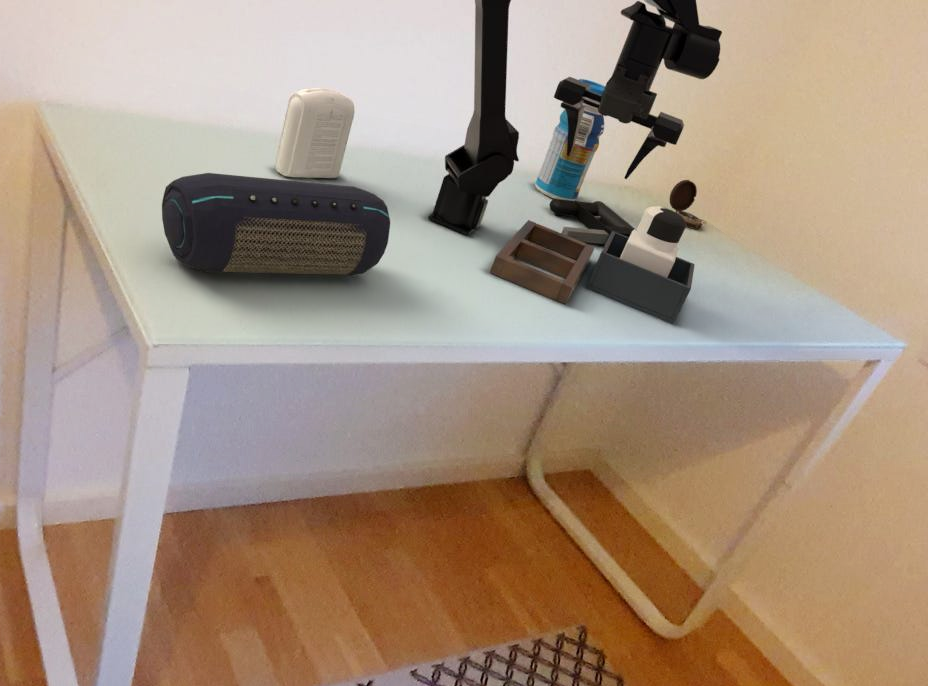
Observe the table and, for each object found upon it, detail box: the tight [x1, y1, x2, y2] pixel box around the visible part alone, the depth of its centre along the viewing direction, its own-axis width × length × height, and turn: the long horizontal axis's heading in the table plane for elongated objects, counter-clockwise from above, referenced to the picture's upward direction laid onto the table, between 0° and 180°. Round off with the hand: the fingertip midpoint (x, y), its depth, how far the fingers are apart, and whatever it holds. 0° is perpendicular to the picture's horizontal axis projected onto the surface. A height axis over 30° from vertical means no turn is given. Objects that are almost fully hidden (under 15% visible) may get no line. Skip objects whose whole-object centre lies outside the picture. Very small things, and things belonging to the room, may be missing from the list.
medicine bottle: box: [620, 205, 688, 277], centre depth 122 cm, size 7×7×12 cm
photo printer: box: [274, 87, 355, 179], centre depth 121 cm, size 10×4×12 cm, turn 134°
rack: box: [489, 219, 596, 305], centre depth 121 cm, size 11×21×2 cm, turn 162°
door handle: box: [549, 198, 637, 247], centre depth 142 cm, size 3×20×16 cm
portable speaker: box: [161, 172, 391, 277], centre depth 92 cm, size 25×10×10 cm, turn 122°
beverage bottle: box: [534, 78, 606, 201], centre depth 152 cm, size 8×8×20 cm
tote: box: [585, 231, 695, 325], centre depth 123 cm, size 13×12×6 cm
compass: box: [668, 179, 707, 230], centre depth 168 cm, size 8×8×7 cm
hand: (596, 167), depth 127 cm, fingers open, 9 cm apart
